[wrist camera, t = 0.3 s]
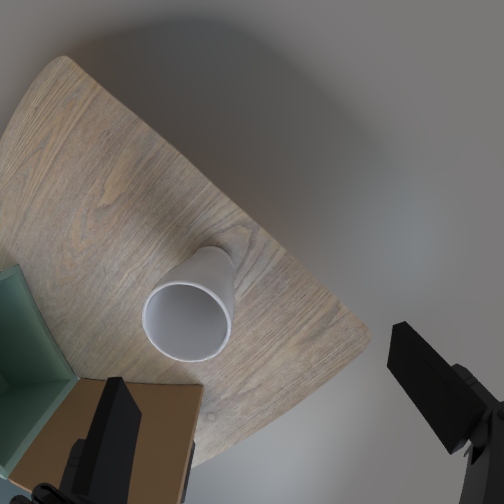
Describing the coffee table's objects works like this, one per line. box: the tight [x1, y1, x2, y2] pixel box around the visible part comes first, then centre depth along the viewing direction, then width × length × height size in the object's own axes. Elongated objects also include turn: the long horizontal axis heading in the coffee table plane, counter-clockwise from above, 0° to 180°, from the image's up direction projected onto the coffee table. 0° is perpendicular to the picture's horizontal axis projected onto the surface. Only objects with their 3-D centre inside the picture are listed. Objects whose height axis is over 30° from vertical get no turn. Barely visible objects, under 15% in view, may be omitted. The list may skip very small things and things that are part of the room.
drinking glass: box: [141, 246, 235, 362], centre depth 27 cm, size 7×7×15 cm
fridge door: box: [8, 378, 204, 504], centre depth 27 cm, size 6×21×24 cm, turn 95°
